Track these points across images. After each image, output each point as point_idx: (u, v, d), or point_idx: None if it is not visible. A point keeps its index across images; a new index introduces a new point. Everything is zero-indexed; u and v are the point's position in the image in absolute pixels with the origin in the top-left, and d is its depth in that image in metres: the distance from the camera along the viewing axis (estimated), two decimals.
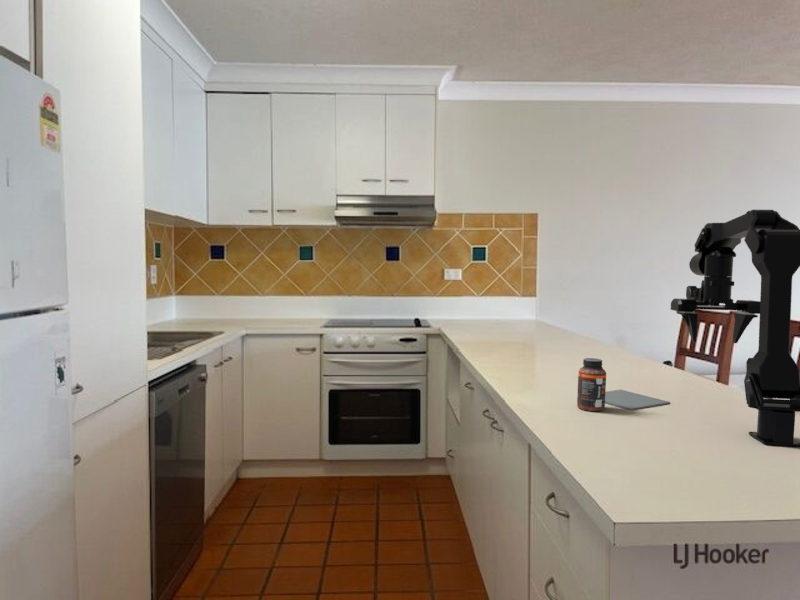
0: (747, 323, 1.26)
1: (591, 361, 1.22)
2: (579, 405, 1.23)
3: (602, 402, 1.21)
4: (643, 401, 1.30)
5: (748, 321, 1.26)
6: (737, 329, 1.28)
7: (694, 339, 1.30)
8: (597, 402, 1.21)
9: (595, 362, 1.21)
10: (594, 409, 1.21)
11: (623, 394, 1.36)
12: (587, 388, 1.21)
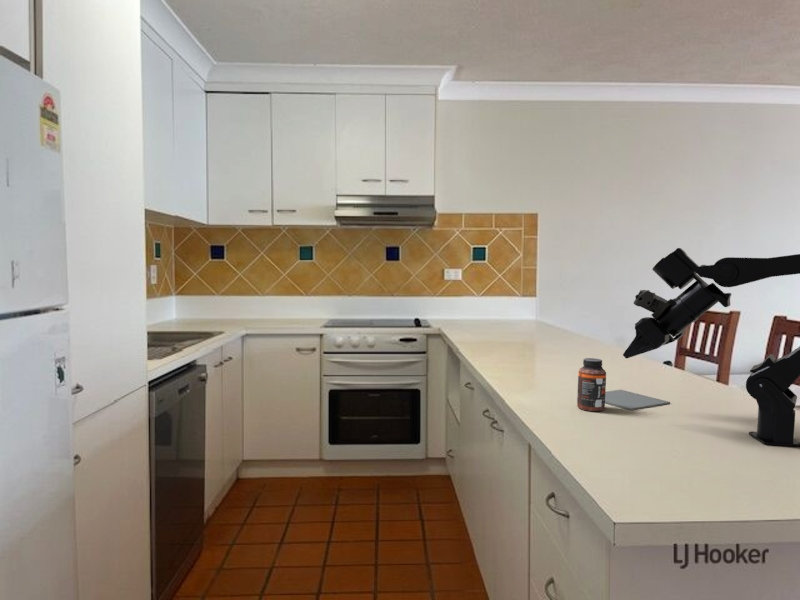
0: None
1: (591, 361, 1.22)
2: (579, 405, 1.23)
3: (602, 402, 1.21)
4: (643, 401, 1.30)
5: (666, 343, 1.19)
6: None
7: (629, 357, 1.14)
8: (597, 402, 1.21)
9: (595, 362, 1.21)
10: (594, 409, 1.21)
11: (623, 394, 1.36)
12: (587, 388, 1.21)
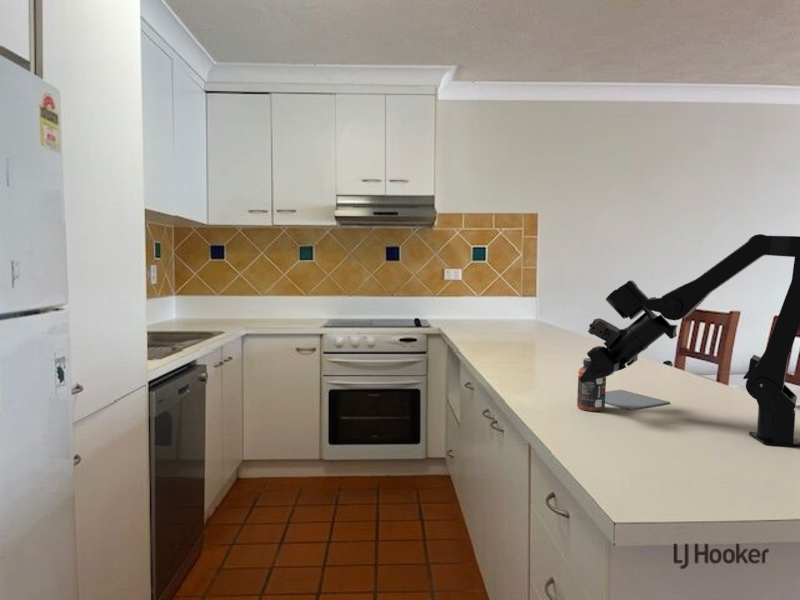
0: None
1: None
2: (579, 405, 1.23)
3: (602, 402, 1.21)
4: (643, 401, 1.30)
5: None
6: None
7: (584, 382, 1.21)
8: (597, 402, 1.21)
9: None
10: (594, 409, 1.21)
11: (623, 394, 1.36)
12: (587, 388, 1.21)
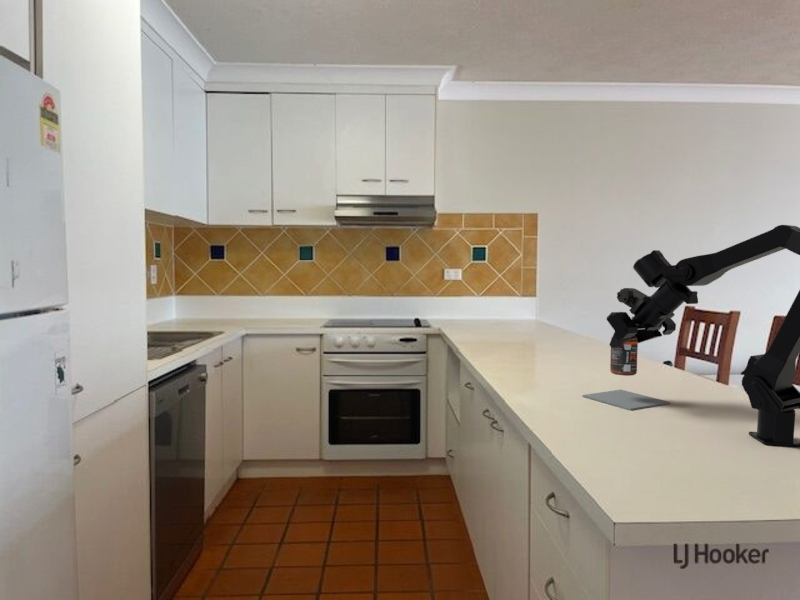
0: None
1: None
2: (610, 369, 1.32)
3: (631, 367, 1.28)
4: (643, 401, 1.30)
5: (652, 338, 1.29)
6: (638, 338, 1.31)
7: (613, 347, 1.30)
8: (625, 367, 1.28)
9: None
10: (622, 373, 1.29)
11: (623, 394, 1.36)
12: (616, 353, 1.29)
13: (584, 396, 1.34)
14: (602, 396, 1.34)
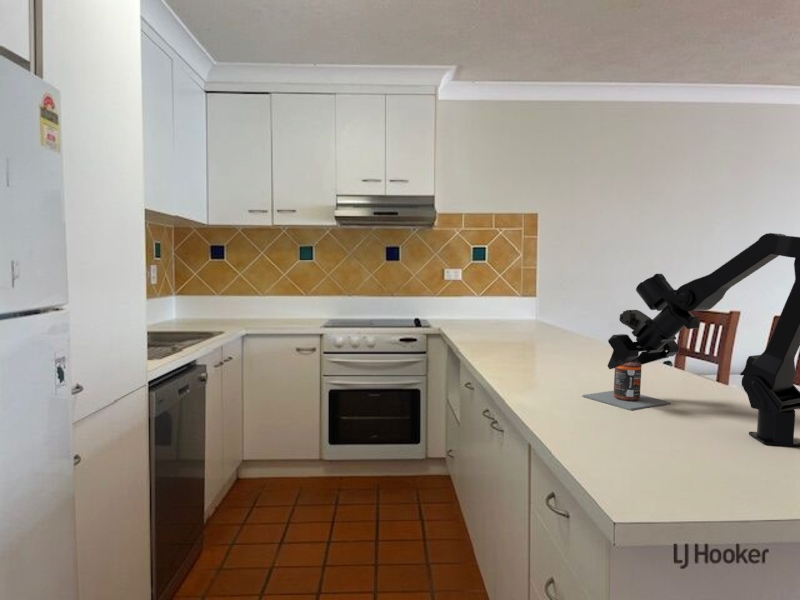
0: None
1: None
2: (614, 394, 1.33)
3: (634, 392, 1.29)
4: (643, 401, 1.30)
5: (659, 359, 1.31)
6: (645, 359, 1.33)
7: (611, 368, 1.30)
8: (628, 392, 1.29)
9: None
10: (625, 398, 1.30)
11: None
12: (619, 378, 1.30)
13: (584, 396, 1.34)
14: (602, 396, 1.34)
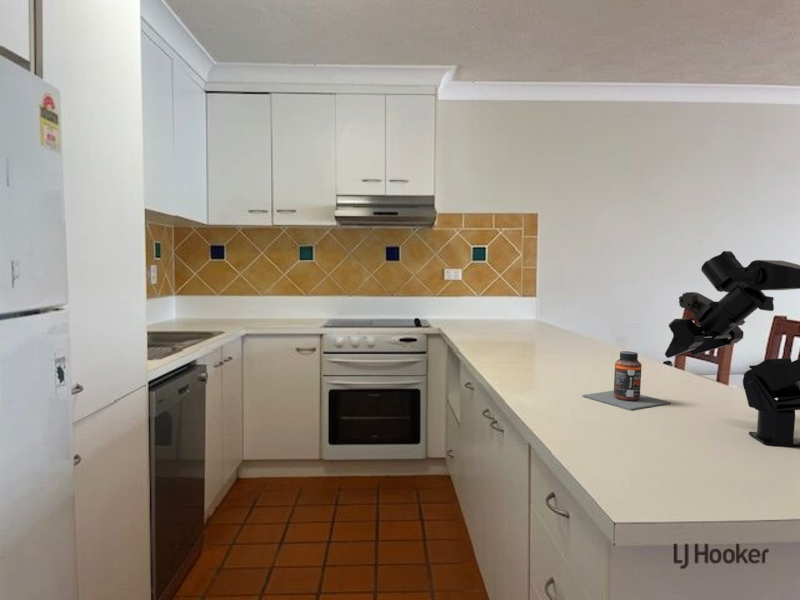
0: (718, 347, 1.19)
1: (624, 353, 1.30)
2: (614, 394, 1.33)
3: (634, 392, 1.29)
4: (643, 401, 1.30)
5: (721, 346, 1.19)
6: (704, 346, 1.21)
7: None
8: (628, 392, 1.29)
9: (628, 354, 1.30)
10: (625, 398, 1.30)
11: None
12: (619, 378, 1.30)
13: (584, 396, 1.34)
14: (602, 396, 1.34)
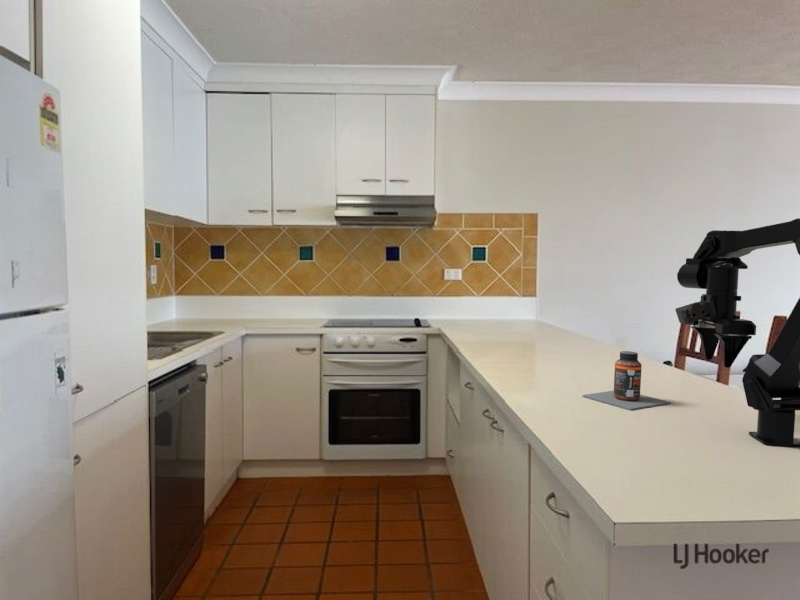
0: None
1: (624, 353, 1.30)
2: (614, 394, 1.33)
3: (634, 392, 1.29)
4: (643, 401, 1.30)
5: None
6: (712, 344, 1.21)
7: None
8: (628, 392, 1.29)
9: (628, 354, 1.30)
10: (625, 398, 1.30)
11: None
12: (619, 378, 1.30)
13: (584, 396, 1.34)
14: (602, 396, 1.34)
